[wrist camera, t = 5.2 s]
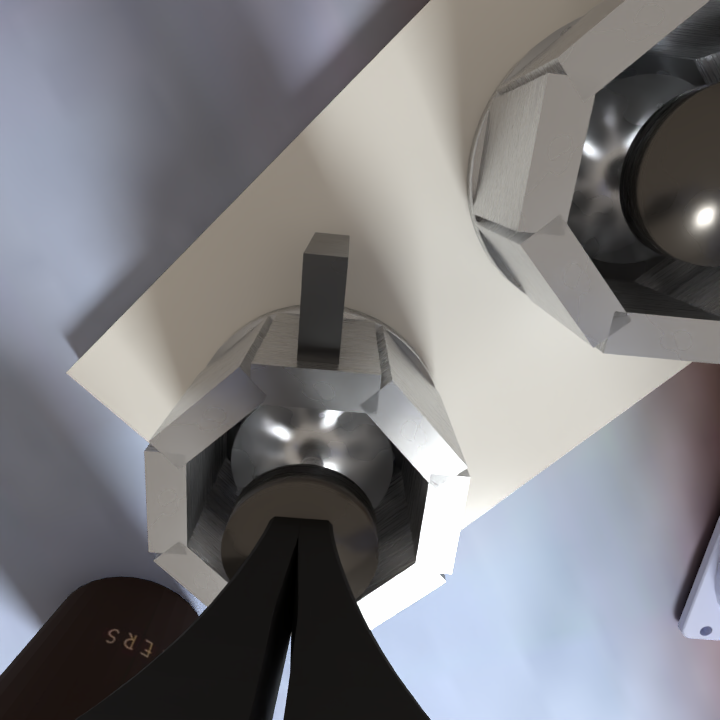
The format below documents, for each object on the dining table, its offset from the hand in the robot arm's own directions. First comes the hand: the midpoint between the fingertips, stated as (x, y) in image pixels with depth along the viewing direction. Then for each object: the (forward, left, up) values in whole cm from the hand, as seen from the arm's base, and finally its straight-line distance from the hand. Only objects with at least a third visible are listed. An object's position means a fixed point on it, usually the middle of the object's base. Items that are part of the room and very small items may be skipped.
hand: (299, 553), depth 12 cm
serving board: (-4, -4, -8) cm, 10 cm away
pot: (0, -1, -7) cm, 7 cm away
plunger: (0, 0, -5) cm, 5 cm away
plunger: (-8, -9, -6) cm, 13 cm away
